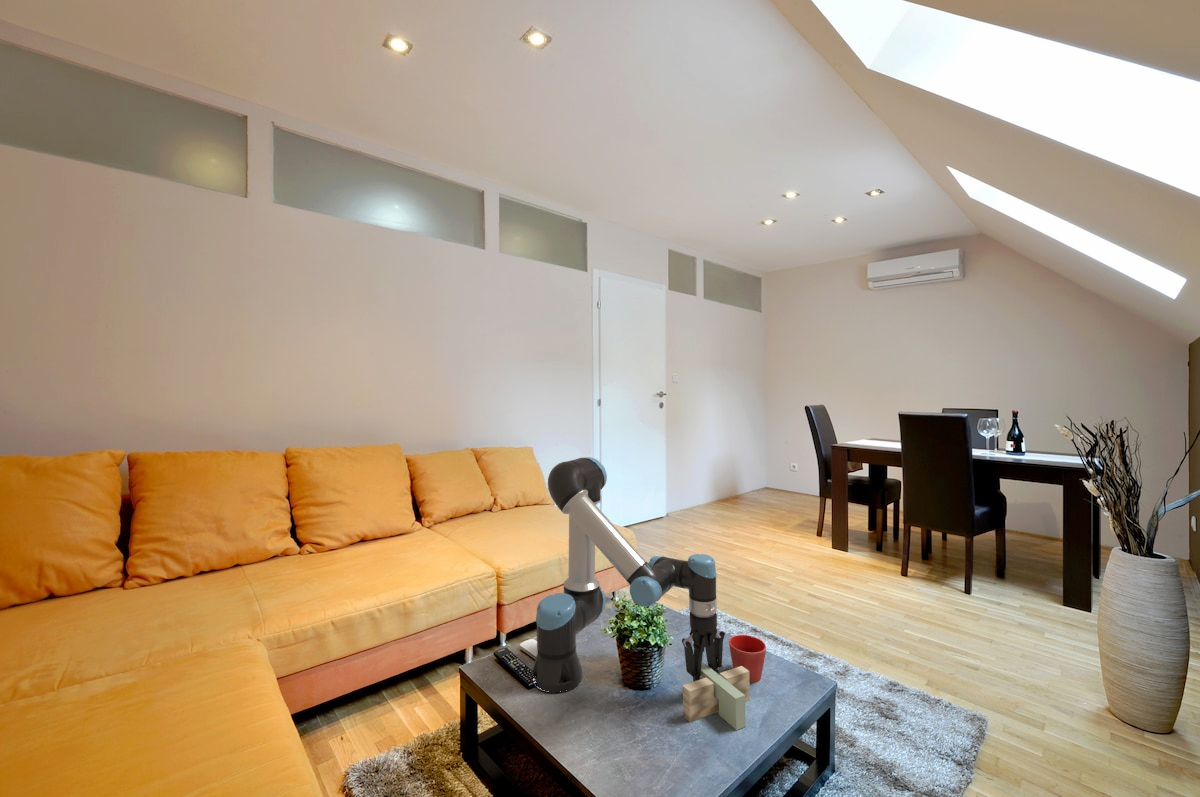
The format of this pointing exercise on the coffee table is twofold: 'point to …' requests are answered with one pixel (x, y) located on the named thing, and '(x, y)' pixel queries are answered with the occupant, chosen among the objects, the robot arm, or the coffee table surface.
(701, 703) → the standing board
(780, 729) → the coffee table surface
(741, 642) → the flower pot
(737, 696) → the cross piece
